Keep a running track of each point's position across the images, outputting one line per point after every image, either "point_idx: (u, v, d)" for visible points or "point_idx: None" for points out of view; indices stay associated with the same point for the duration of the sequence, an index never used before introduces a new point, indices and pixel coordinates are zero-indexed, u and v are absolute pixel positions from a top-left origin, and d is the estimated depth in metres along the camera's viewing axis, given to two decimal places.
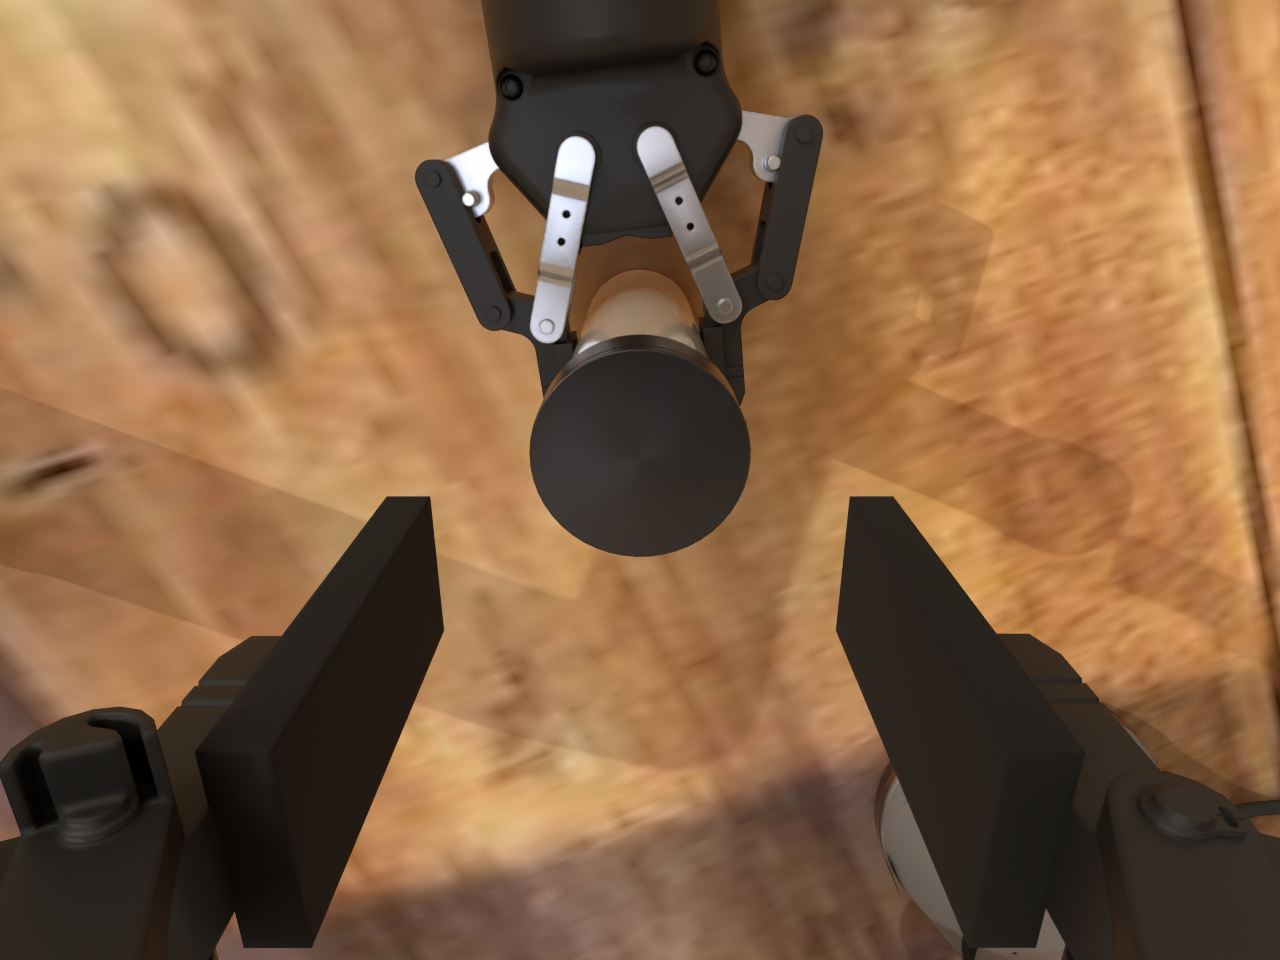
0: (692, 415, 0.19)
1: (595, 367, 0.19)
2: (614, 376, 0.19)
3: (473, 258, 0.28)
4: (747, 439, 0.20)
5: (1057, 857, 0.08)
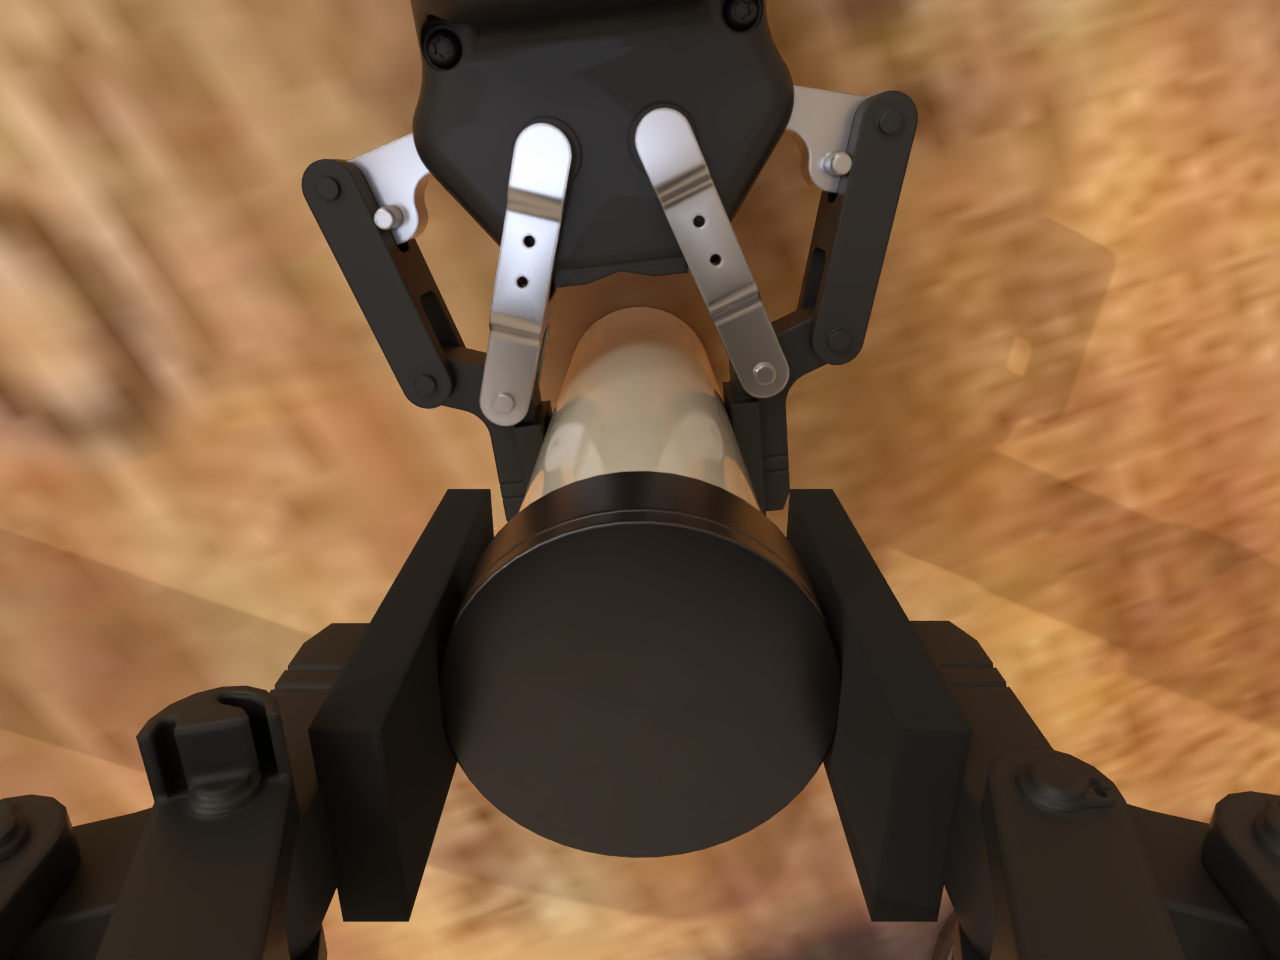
0: (737, 635, 0.10)
1: (555, 553, 0.10)
2: (591, 568, 0.10)
3: (393, 305, 0.19)
4: (838, 675, 0.11)
5: (953, 833, 0.09)
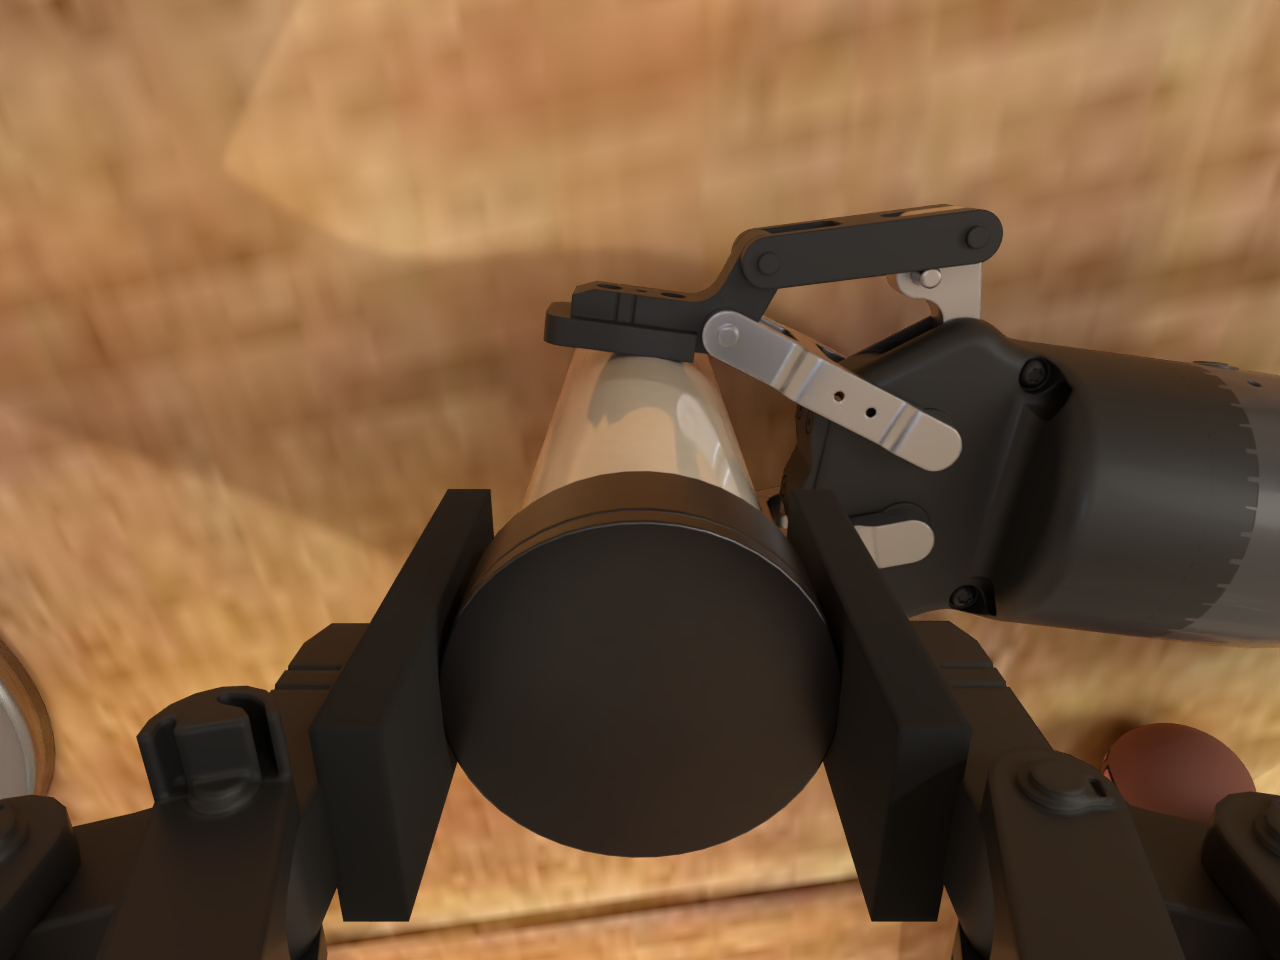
0: (738, 635, 0.10)
1: (556, 552, 0.10)
2: (592, 568, 0.10)
3: (853, 259, 0.19)
4: (838, 676, 0.11)
5: (953, 833, 0.09)
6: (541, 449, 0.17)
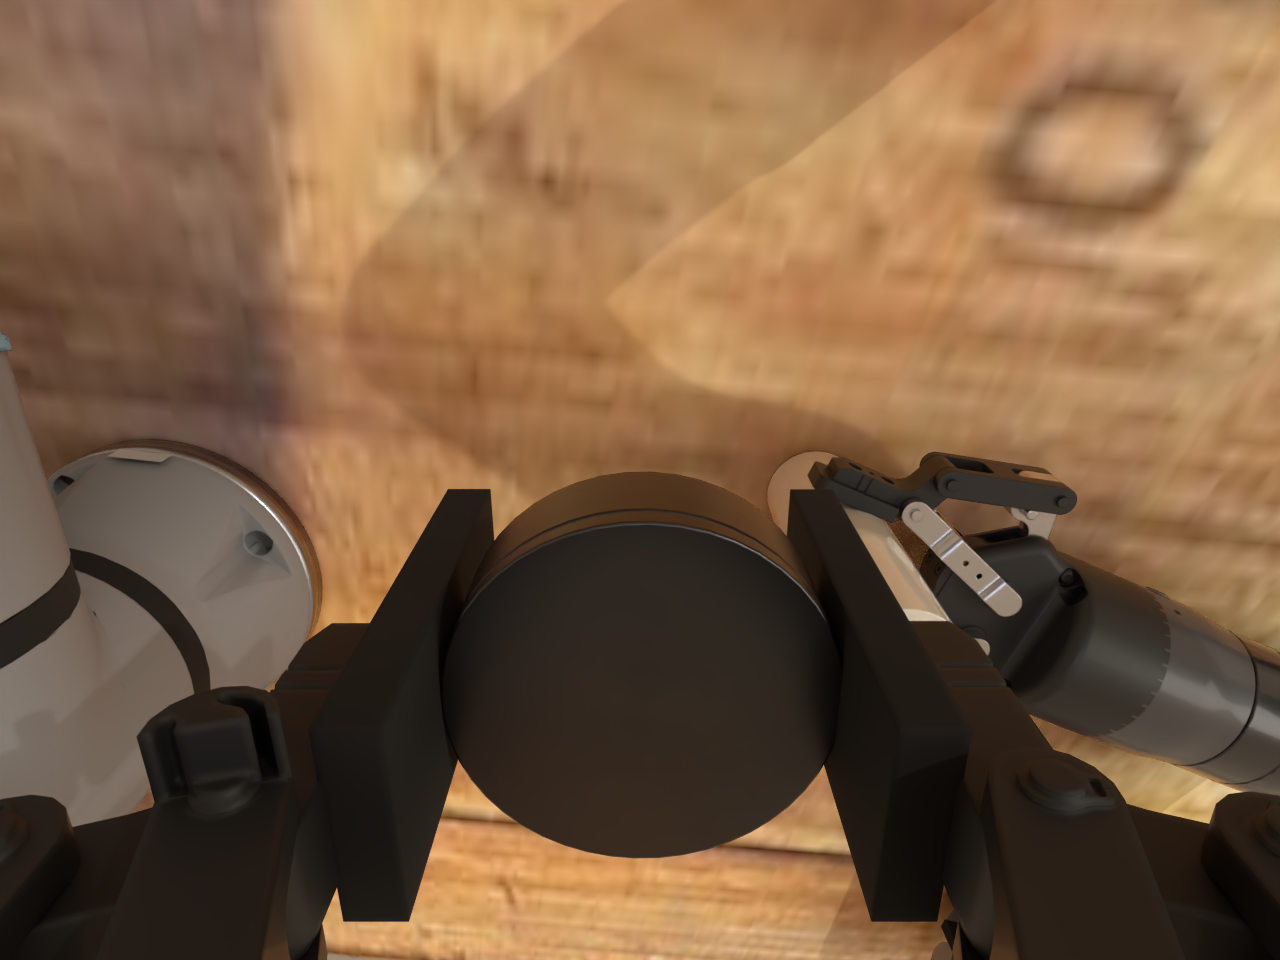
0: (740, 636, 0.10)
1: (558, 554, 0.10)
2: (594, 569, 0.10)
3: (996, 494, 0.34)
4: (841, 676, 0.11)
5: (952, 833, 0.09)
6: None
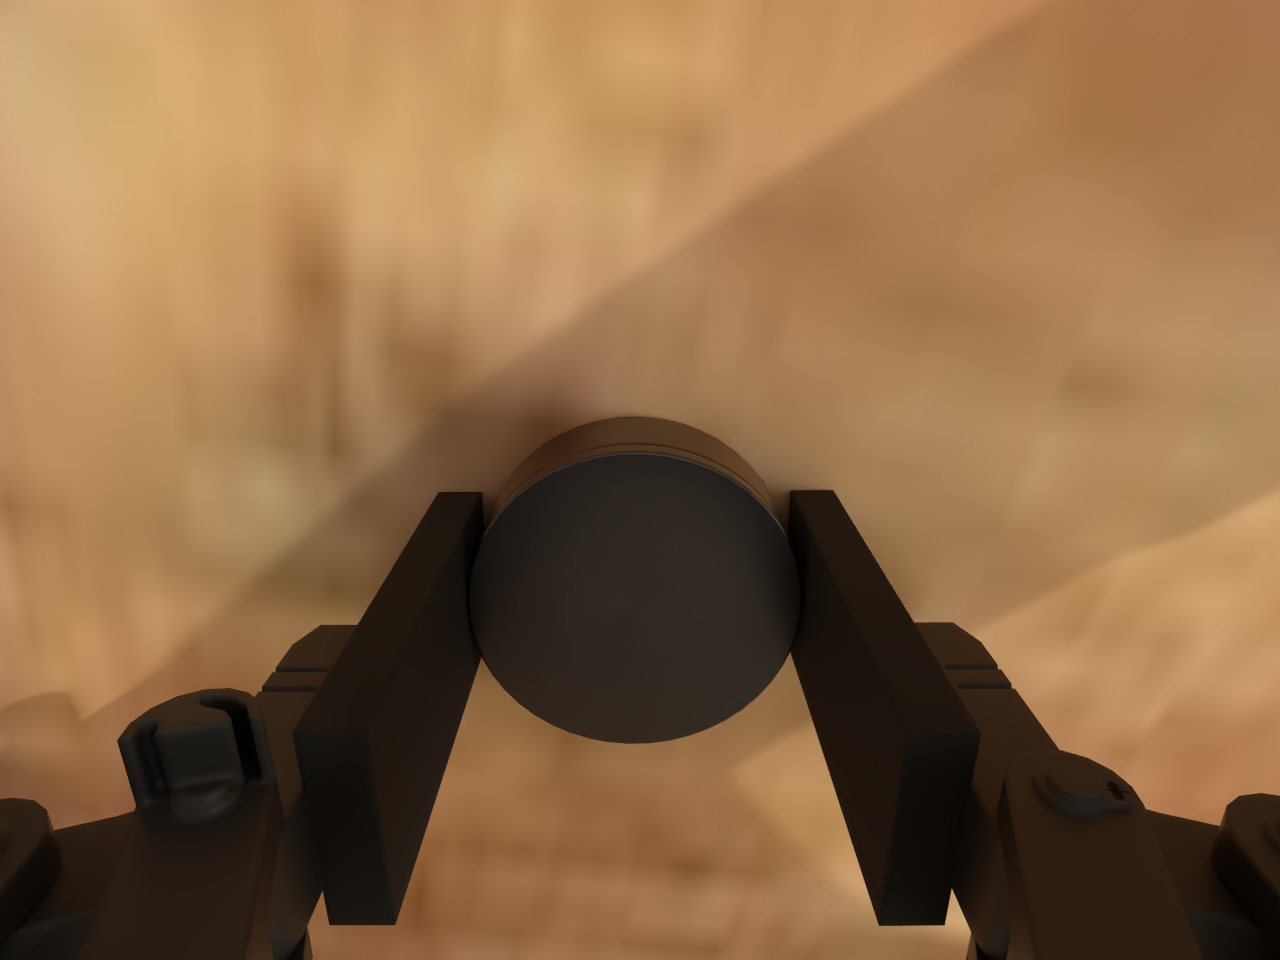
0: (715, 548, 0.13)
1: (566, 478, 0.12)
2: (595, 491, 0.12)
3: None
4: (798, 582, 0.13)
5: (961, 837, 0.09)
6: None
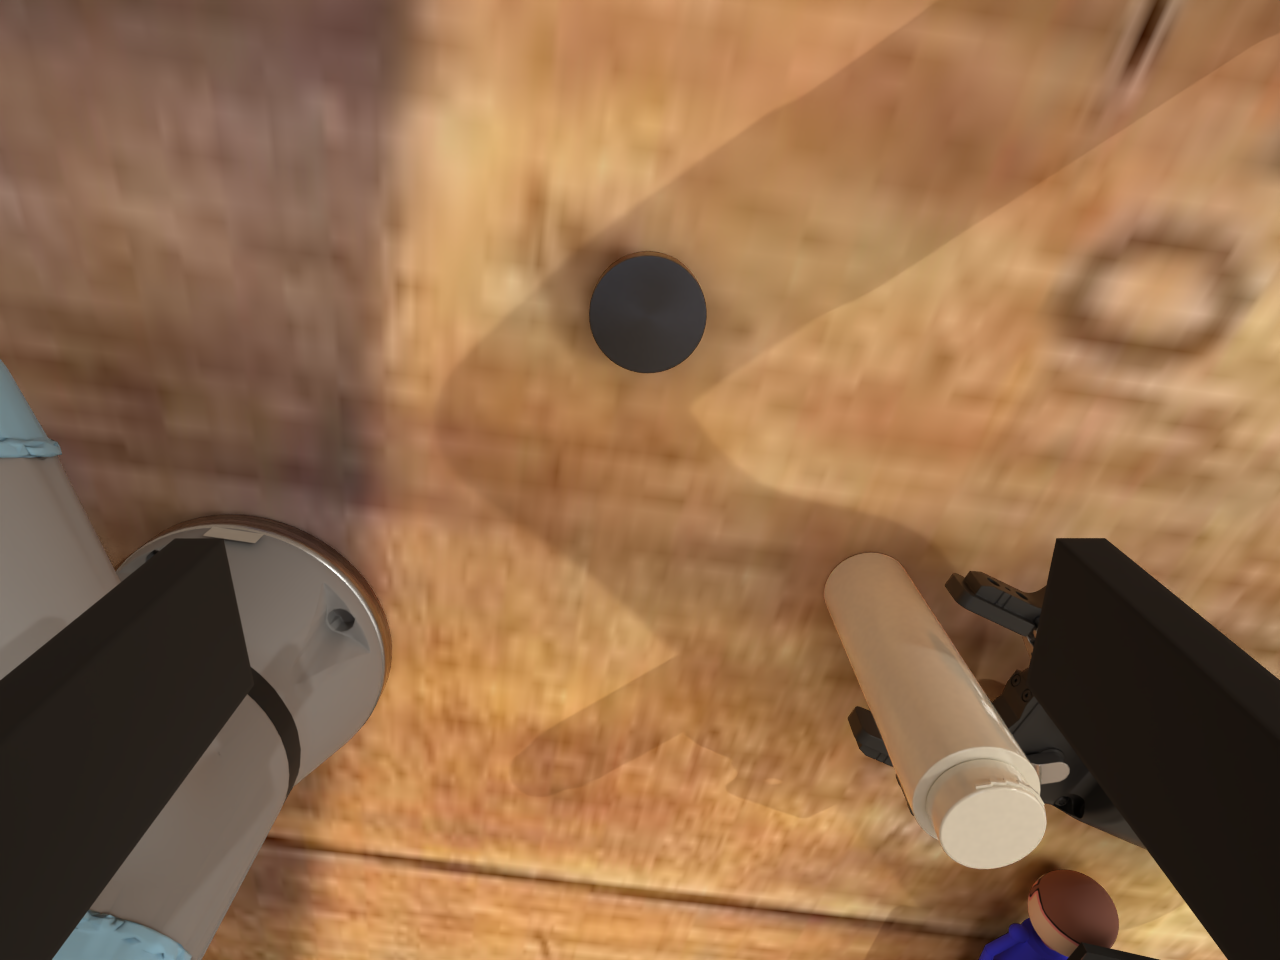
0: (675, 291, 0.37)
1: (624, 265, 0.36)
2: (634, 270, 0.36)
3: None
4: (704, 304, 0.37)
5: None
6: (895, 678, 0.34)
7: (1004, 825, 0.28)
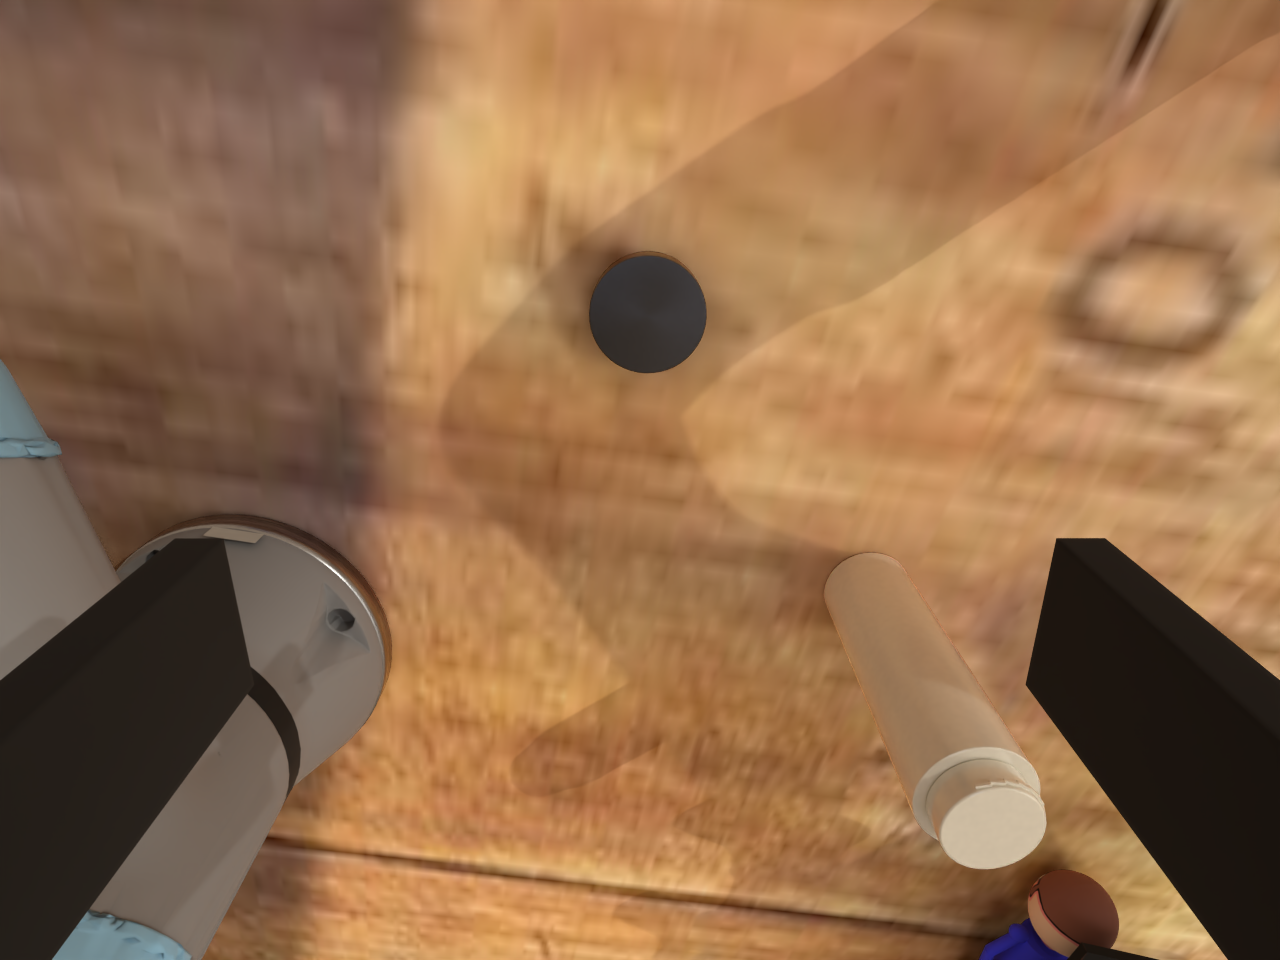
0: (675, 291, 0.37)
1: (624, 265, 0.36)
2: (634, 270, 0.36)
3: None
4: (704, 304, 0.37)
5: None
6: (895, 678, 0.34)
7: (1003, 825, 0.28)
